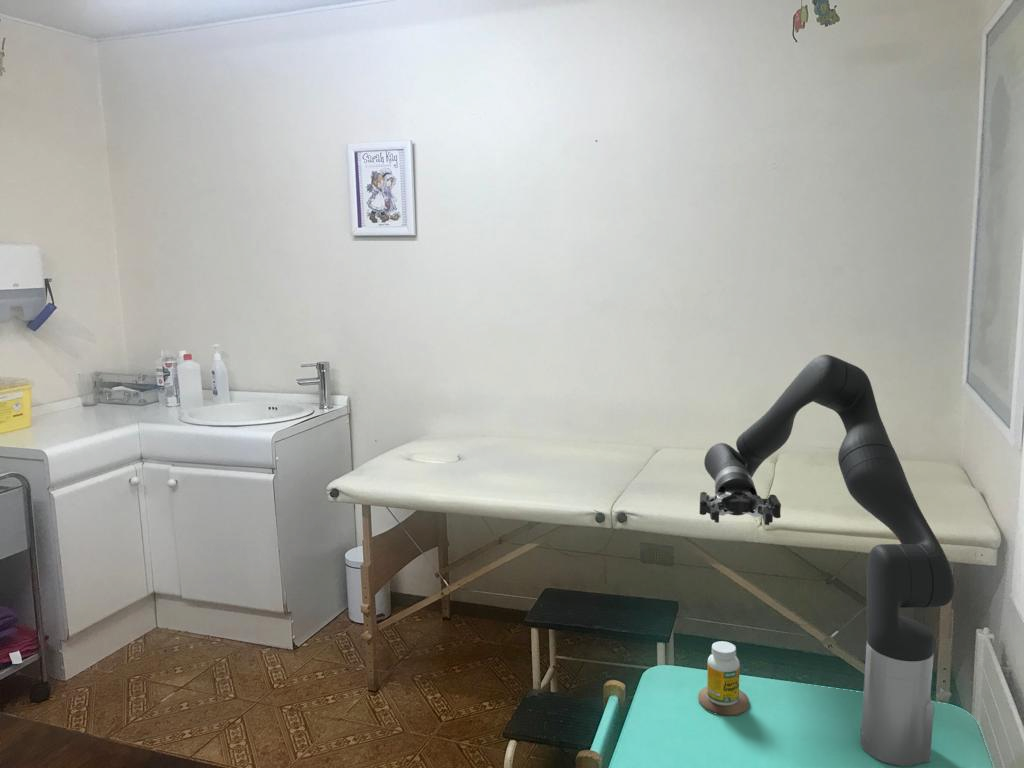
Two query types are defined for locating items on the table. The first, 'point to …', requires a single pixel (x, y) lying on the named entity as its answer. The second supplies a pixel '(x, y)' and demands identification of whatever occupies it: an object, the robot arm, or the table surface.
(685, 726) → the table surface
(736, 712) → the walnut coaster
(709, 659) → the supplement bottle
